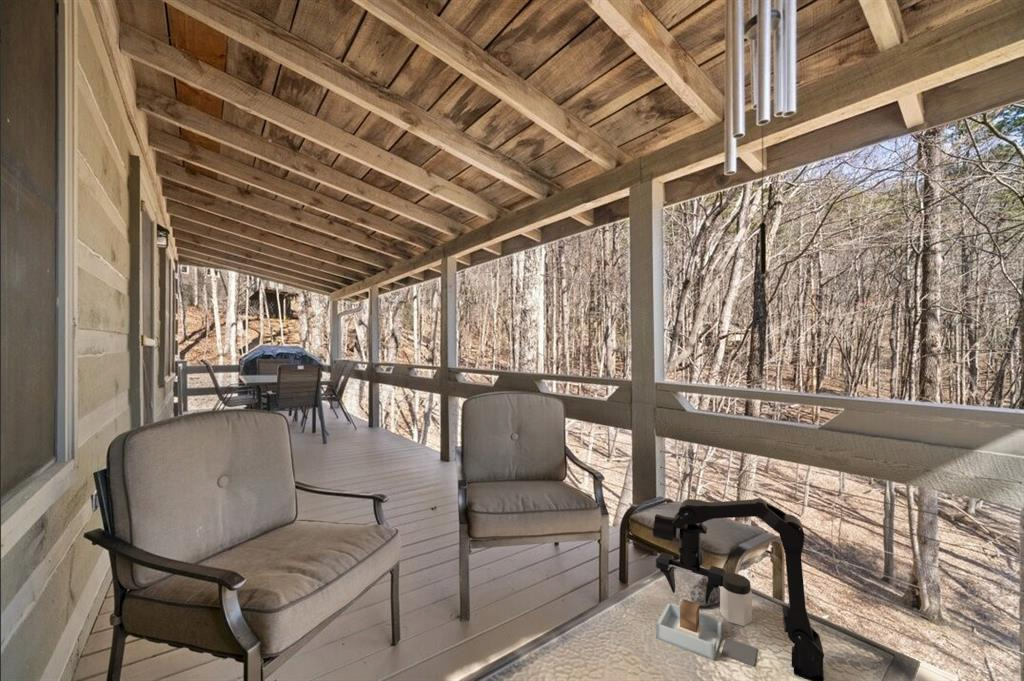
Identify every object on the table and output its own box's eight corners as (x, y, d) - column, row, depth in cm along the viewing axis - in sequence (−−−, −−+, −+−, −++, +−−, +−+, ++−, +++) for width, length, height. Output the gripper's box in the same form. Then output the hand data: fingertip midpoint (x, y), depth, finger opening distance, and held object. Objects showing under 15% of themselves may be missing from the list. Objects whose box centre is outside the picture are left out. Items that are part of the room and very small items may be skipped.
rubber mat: (757, 649, 121) (757, 648, 121) (754, 666, 115) (754, 665, 115) (725, 638, 126) (725, 637, 126) (721, 654, 119) (721, 653, 119)
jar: (741, 629, 130) (741, 589, 130) (715, 615, 137) (715, 577, 137) (756, 619, 135) (756, 581, 135) (731, 606, 142) (731, 569, 142)
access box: (722, 633, 128) (722, 620, 128) (714, 660, 117) (714, 646, 117) (668, 614, 137) (668, 602, 137) (656, 638, 126) (656, 624, 126)
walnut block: (699, 624, 127) (699, 604, 128) (696, 632, 124) (696, 611, 124) (683, 619, 130) (683, 599, 130) (679, 626, 126) (679, 606, 126)
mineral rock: (693, 610, 139) (693, 579, 140) (678, 591, 150) (678, 563, 150) (731, 609, 140) (731, 578, 140) (714, 591, 151) (714, 562, 151)
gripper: (728, 542, 129) (729, 595, 128) (665, 527, 139) (665, 576, 139) (722, 557, 119) (723, 613, 119) (655, 540, 130) (655, 591, 130)
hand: (690, 597), depth 127 cm, fingers open, 9 cm apart
